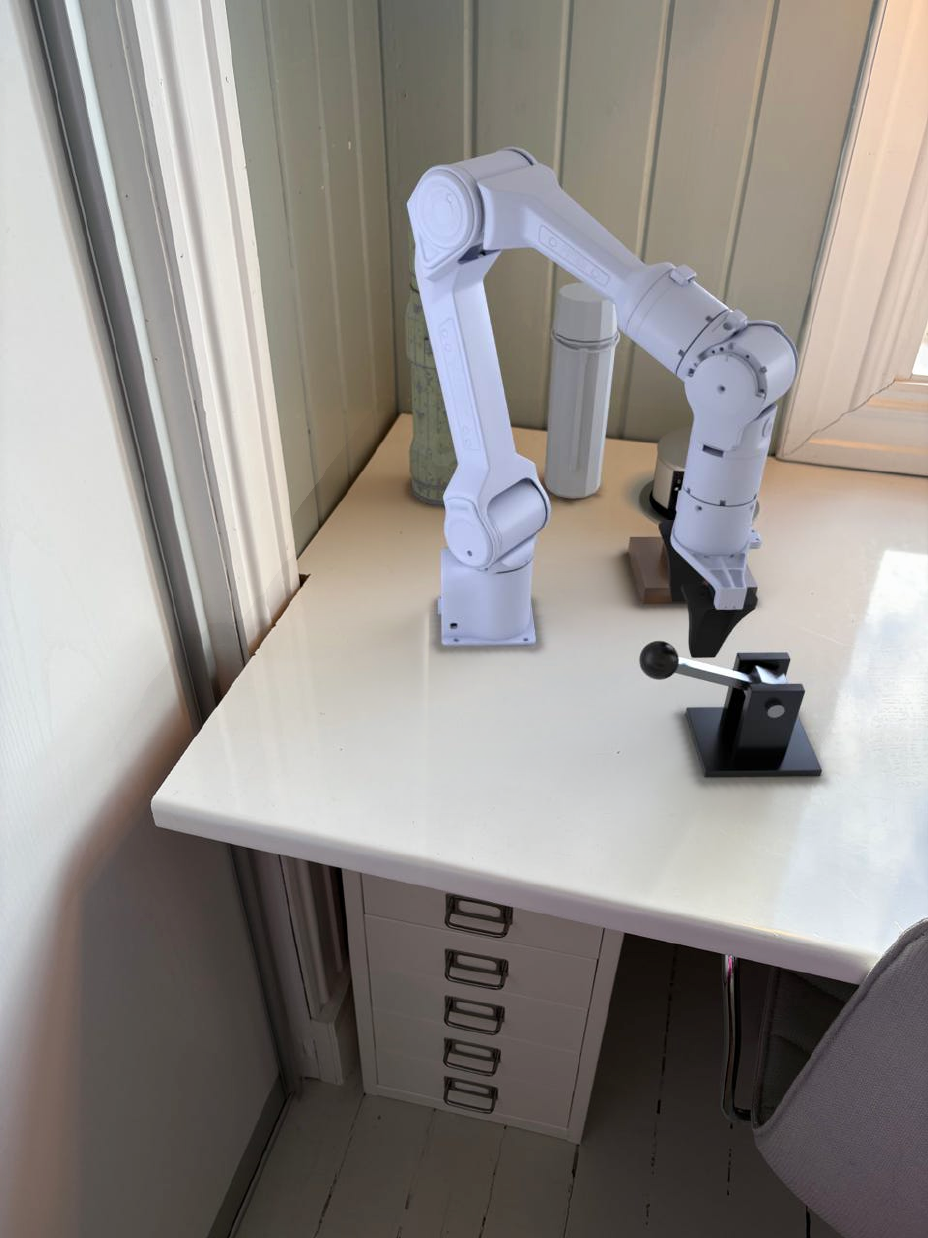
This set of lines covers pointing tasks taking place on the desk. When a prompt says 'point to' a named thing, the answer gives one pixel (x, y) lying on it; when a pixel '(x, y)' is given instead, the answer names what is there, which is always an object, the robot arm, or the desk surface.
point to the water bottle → (579, 390)
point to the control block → (659, 570)
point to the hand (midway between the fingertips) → (692, 626)
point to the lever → (700, 668)
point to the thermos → (426, 404)
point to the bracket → (755, 727)
